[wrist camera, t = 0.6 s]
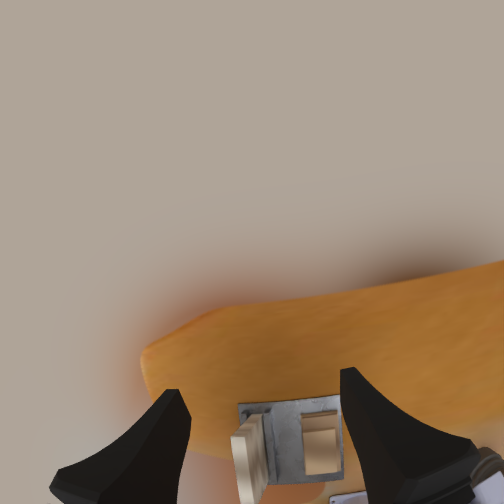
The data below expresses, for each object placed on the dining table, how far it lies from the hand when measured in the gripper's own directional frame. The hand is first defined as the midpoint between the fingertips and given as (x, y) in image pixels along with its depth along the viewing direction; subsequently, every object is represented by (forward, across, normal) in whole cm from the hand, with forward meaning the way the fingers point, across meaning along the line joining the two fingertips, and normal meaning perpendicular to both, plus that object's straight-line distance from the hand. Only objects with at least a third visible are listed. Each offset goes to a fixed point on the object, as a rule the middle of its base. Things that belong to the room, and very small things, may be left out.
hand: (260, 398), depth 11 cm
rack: (+14, 0, +24) cm, 27 cm away
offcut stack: (+13, -4, +23) cm, 27 cm away
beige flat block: (+14, +4, +24) cm, 27 cm away
